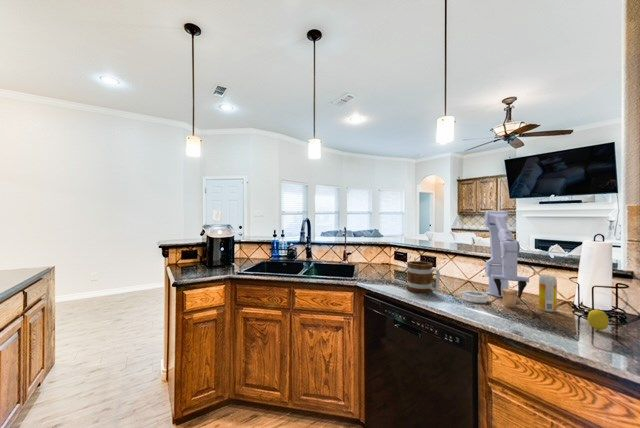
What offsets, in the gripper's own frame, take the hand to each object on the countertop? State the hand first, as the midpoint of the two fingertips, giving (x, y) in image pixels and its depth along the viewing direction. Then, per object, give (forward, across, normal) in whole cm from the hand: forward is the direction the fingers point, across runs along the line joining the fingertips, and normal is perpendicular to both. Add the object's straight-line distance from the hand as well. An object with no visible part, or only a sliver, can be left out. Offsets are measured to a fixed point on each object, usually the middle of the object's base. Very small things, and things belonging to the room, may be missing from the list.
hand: (509, 296), depth 131 cm
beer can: (+5, +14, 0) cm, 15 cm away
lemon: (+5, +24, -20) cm, 31 cm away
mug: (+4, -38, +8) cm, 39 cm away
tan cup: (+4, 0, 0) cm, 4 cm away
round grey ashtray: (+4, -14, +4) cm, 15 cm away
